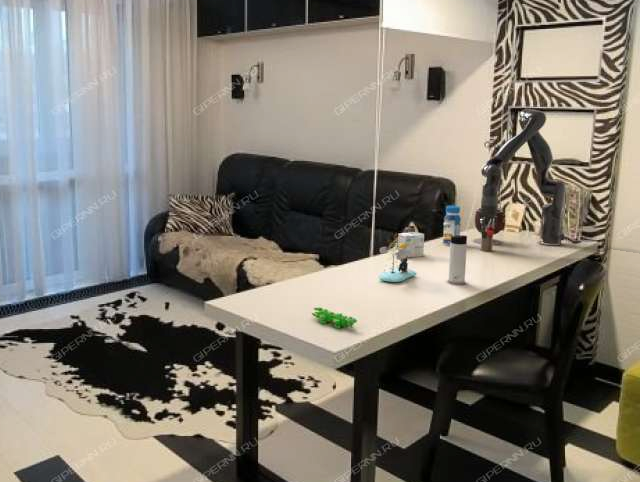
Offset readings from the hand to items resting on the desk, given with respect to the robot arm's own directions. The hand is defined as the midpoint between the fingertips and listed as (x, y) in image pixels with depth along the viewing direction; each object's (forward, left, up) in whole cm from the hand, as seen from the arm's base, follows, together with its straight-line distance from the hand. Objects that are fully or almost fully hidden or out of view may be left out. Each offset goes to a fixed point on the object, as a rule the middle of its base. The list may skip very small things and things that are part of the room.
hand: (487, 237), depth 300 cm
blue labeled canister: (+8, -17, -7) cm, 20 cm away
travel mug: (+50, +41, -7) cm, 65 cm away
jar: (0, 0, -6) cm, 6 cm away
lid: (0, 0, +3) cm, 3 cm away
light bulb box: (+41, -4, -7) cm, 42 cm away
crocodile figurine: (+119, +66, -7) cm, 136 cm away
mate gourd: (-13, -14, -7) cm, 20 cm away
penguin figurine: (+69, +27, -7) cm, 74 cm away
